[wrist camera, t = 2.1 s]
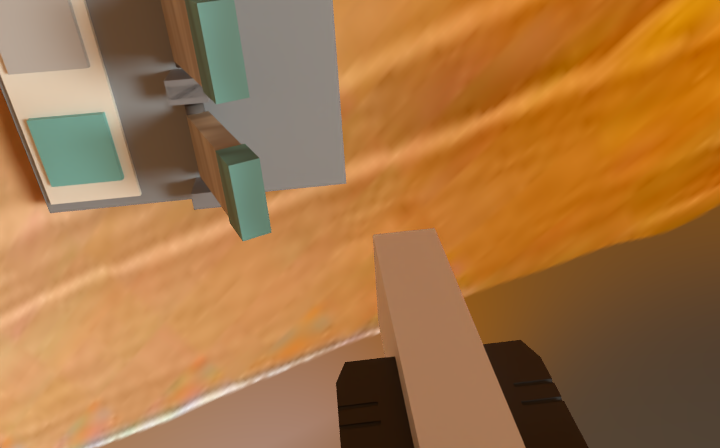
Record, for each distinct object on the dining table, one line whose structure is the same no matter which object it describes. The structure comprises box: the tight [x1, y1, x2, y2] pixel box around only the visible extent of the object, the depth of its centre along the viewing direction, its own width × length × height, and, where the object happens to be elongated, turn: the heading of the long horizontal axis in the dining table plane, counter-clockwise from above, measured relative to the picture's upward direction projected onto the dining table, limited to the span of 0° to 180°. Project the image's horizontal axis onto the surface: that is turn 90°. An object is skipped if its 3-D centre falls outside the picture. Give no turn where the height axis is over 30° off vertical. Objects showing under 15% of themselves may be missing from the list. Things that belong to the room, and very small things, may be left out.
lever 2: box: [185, 103, 271, 241], centre depth 28 cm, size 1×4×9 cm, turn 3°
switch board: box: [0, 0, 346, 213], centre depth 28 cm, size 18×21×4 cm
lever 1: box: [160, 0, 250, 104], centre depth 25 cm, size 1×4×9 cm, turn 3°
